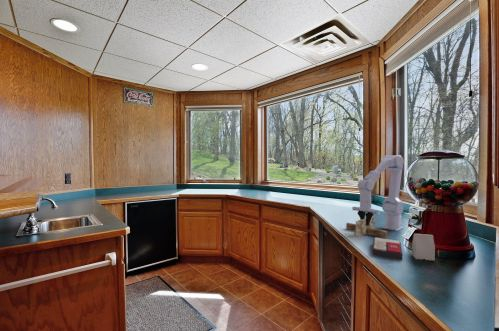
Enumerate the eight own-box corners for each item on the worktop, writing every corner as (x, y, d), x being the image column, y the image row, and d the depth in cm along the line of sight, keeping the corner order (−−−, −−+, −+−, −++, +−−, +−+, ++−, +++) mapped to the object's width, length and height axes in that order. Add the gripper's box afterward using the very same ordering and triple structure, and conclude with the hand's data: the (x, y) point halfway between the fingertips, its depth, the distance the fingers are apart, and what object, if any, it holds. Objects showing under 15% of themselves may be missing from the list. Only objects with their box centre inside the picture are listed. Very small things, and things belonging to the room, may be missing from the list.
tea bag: (434, 260, 95) (434, 236, 95) (415, 258, 97) (415, 235, 97) (430, 257, 98) (431, 233, 98) (412, 255, 100) (412, 232, 100)
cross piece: (371, 229, 137) (371, 216, 137) (374, 230, 135) (374, 216, 135) (355, 235, 126) (355, 221, 126) (359, 236, 125) (359, 222, 124)
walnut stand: (346, 228, 139) (346, 223, 139) (348, 228, 140) (348, 222, 140) (385, 238, 121) (385, 232, 121) (387, 237, 123) (387, 231, 123)
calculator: (372, 247, 101) (373, 236, 114) (372, 257, 101) (373, 244, 114) (402, 252, 95) (400, 239, 108) (402, 262, 96) (400, 248, 108)
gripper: (349, 200, 134) (349, 223, 134) (375, 203, 122) (375, 229, 122) (355, 198, 138) (355, 221, 138) (381, 202, 126) (381, 226, 127)
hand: (365, 224), depth 131 cm, fingers closed on cross piece, 2 cm apart
